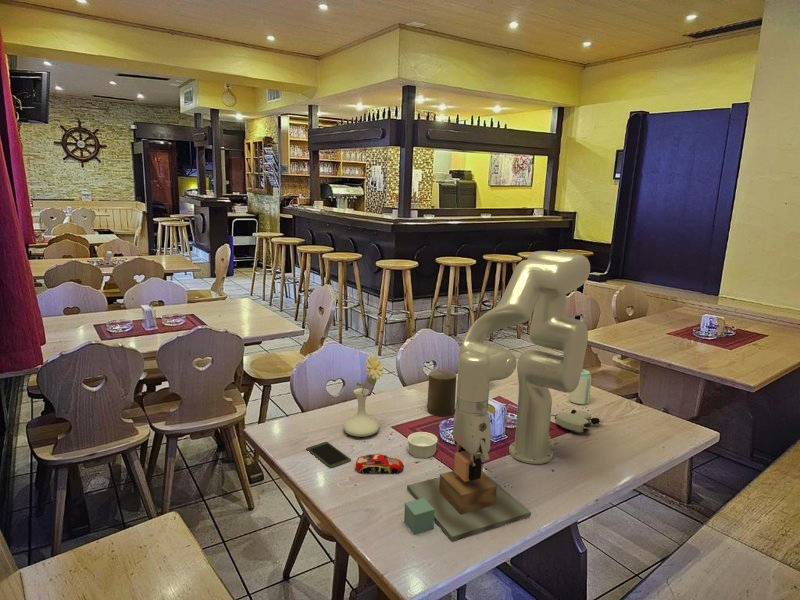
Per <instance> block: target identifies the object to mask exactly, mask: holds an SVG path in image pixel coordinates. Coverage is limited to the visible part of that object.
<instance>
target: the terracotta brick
mask: <svg viewBox="0 0 800 600" xmlns="http://www.w3.org/2000/svg"><path fill="white" fill-rule="evenodd" d="M477 458H478V455H475V460H476V459H477ZM453 464H454V465H453V471H454V472H455V473H456V474H457V475H458V476H459V477H460V478H461V479H462V480H463V481H464V482H466V481H470V480H469V465H471V457H470V453H469V452H468V451H467V450H466V451H462V452H457V453H456V452H455V453H454V463H453ZM483 469H484V463H483V464H482V467H481V478H482V474H483V472H484V471H483Z"/></svg>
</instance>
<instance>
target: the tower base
mask: <svg viewBox="0 0 800 600" xmlns="http://www.w3.org/2000/svg"><path fill="white" fill-rule="evenodd" d="M406 489H407V491H408V493H409V494H410V495H411V496H412V497H413V498H414V500H417V499H421V498H424V499H425V500H426V501H427V502H428V503H429V504H430V505H431V506H432V507H433V508H434V524H436V526H438V527H439V529H440V530H441V531H442V532H443V533H444V534H445V535H446V537H447V538H449V540H450V541H451V542H454V541H455V542H456V541H458V540H461V539H465V538H468V537H470V536H474V535H477V534H480V533H483V532H486V531H489V530H493V529H495V528H496V529H497V528H499V527H502V526H506V525H509V524H511V522H512V523H514V522H518V521H521V520H524V519H527V517H528V518H530V516H532V515H531V514H532V511H531V510H529V509H528V508H527V507H526V506H525V505H523V504H522V503H521V502H520V501H519V500H517V499H516V498H515V497H514V496H513V495H511V494H510V492H508V491H507V490H505V489H504V488H503V487H502V486H501V485H500V484H499V483H497V482H496V481H495V480H494V479H493V478H492V477H490V476H489V475H488V474H486V472H484V471H483V474H482V478H480V479H476V480H472V481H466V482H464V481H463V480H462V479H461V478H460V477H459V476H458V475H457V474H456V473H455V472H454V470H451V471H447V472H444V473H440V474H439V477H434V478H431V479H427V480H424V481H419V482H416V483H415V482H414V483H411V484H408V485H407V486H406ZM523 518H524V519H523ZM520 519H521V520H520ZM508 523H509V524H508ZM505 524H506V525H505Z"/></svg>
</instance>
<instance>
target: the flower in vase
mask: <svg viewBox="0 0 800 600" xmlns="http://www.w3.org/2000/svg"><path fill="white" fill-rule="evenodd" d="M364 365H365V369H366V374H367V376H366V379H365V382H364V384H361V383H360V382H357V383H356V386H358V387H360V388H356V389H354V390H353V393H354V394H355V396H356V398H357V411H356V413H355V415H353V416H351V417H350V418H348V419H347V420H346V421H345V422H344V425H343V427H342V428H343V430H344V431H345V433H346V434H348V435H349V436H353V437H361V438H362V437H369V436H373V435H375V434H376V433H378V431H379V429H380V425H379V422H378V421H377V420H375V418H374V417H372V416H370V415H369V414H368V413H367V412H366V400H367V397H368V395H369V394H370V392H371V391H370V389H367V388H366V385H367V383H368V384H369V385H371V386H373V385H374V384H376V383H377V381H378V380H380V379H381V377H383V374H384V371H383V370H384V367H383V363H382V362H381V360H380V359H379V358H378V357H377V356H376V355H374V354H373V355H370V354H369V355H368V356H367V359H365V364H364ZM361 387H362V388H361Z"/></svg>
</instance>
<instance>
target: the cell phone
mask: <svg viewBox="0 0 800 600" xmlns="http://www.w3.org/2000/svg"><path fill="white" fill-rule="evenodd" d="M305 451H307V452H308V451H309V452H310V453H309V452H308V453H309V454H310V455H312V456H313V455H314V456H315V459H317V458H318V459H319V460H320V461H319V460H318V459H317V460H318V461H319V462H320V463H322V464H323V465H324V464H325V466H326V467H327V468H328V469H335V468H337V467H340V466H343V465H345V464H348V463H350V462H352V459H351V458H350V457H349V456H347V455H346V454H345V453H343V452H342V451H341V450H340V449H338V448H337V447H335V446H333V445H332V444H331V443H330V442H328V441H324V442H320V443H317V444H314V445H311V446H308V447H306V449H305ZM314 456H313V457H314Z"/></svg>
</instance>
